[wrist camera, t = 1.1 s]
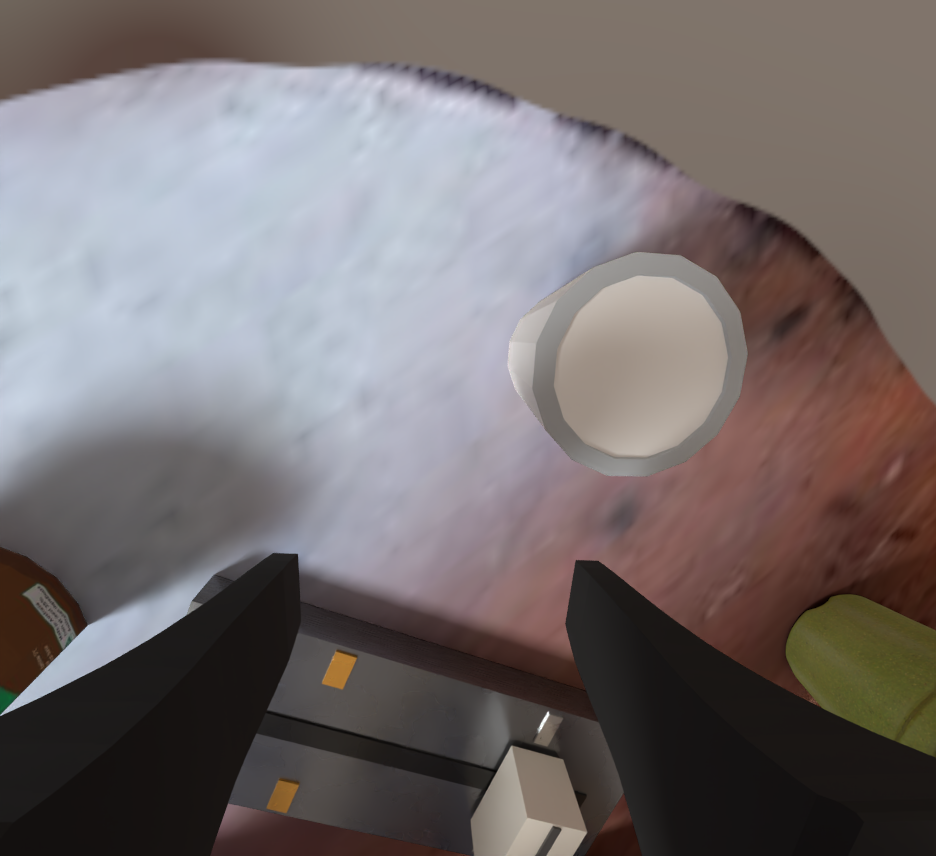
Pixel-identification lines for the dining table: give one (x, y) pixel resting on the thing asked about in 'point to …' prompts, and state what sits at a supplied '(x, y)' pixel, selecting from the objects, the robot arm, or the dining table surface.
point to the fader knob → (528, 809)
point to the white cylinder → (632, 363)
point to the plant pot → (869, 668)
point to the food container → (31, 622)
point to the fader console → (409, 734)
